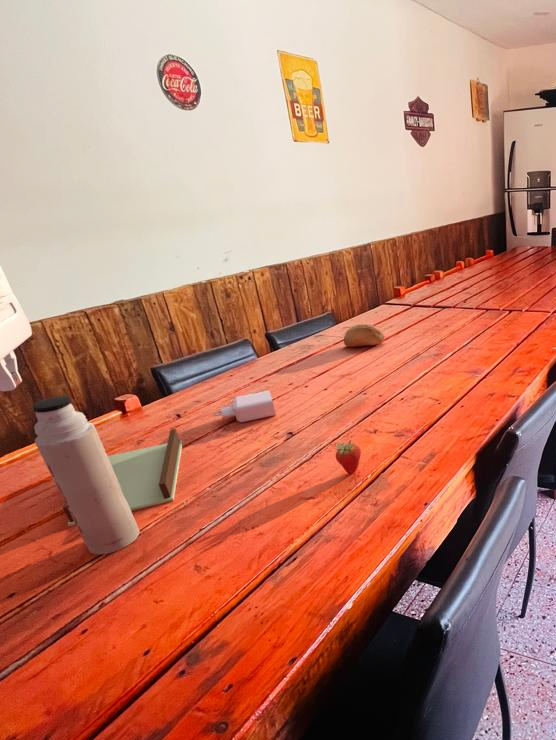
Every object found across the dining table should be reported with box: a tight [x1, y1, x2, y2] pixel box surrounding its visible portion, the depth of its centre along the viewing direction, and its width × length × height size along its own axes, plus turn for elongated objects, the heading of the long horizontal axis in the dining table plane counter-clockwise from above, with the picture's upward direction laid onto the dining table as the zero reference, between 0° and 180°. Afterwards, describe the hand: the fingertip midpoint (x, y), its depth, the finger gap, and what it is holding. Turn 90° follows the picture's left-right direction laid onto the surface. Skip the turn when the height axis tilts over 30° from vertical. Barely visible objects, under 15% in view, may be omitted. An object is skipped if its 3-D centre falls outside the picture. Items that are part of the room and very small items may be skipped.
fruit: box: [334, 439, 362, 475], centre depth 109 cm, size 5×5×8 cm
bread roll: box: [343, 323, 385, 348], centre depth 189 cm, size 10×15×8 cm, turn 98°
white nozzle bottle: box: [212, 390, 277, 423], centre depth 138 cm, size 5×9×15 cm
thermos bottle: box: [31, 395, 140, 556], centre depth 87 cm, size 8×8×28 cm
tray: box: [62, 428, 183, 527], centre depth 111 cm, size 18×28×4 cm, turn 24°
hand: (11, 387), depth 70 cm, fingers closed
